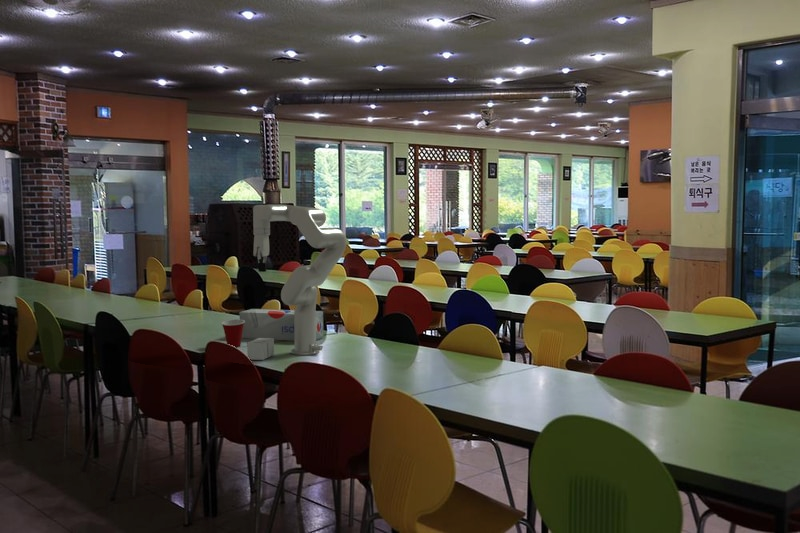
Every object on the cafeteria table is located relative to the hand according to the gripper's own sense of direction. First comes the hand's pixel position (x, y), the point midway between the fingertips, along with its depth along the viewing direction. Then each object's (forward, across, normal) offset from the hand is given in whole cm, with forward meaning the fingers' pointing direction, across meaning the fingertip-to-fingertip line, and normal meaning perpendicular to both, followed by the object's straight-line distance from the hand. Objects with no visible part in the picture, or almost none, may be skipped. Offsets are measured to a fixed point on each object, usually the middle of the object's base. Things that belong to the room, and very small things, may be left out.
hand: (262, 271), depth 351 cm
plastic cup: (+35, +2, -14) cm, 38 cm away
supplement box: (+31, +20, +8) cm, 38 cm away
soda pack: (+36, -23, +2) cm, 42 cm away
